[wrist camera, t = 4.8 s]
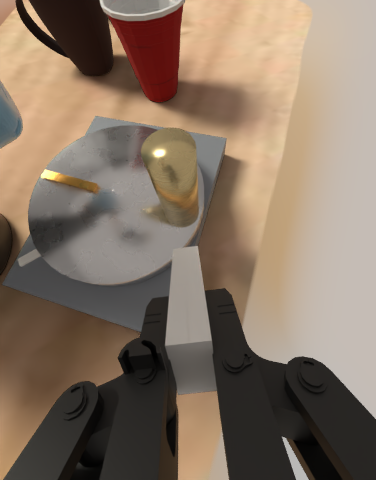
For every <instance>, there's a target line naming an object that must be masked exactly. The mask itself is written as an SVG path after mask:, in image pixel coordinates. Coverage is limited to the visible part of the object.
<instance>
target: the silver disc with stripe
mask: <svg viewBox="0 0 376 480" xmlns="http://www.w3.org/2000/svg"><path fill="white" fill-rule="evenodd" d="M203 212H204V183H203V177H202V174H201V170H200V167H199V165H198V163H197V153H196V143H195V140H194V139H193V137H192V136H191V135H190V134H189V133H188V132H186V131H184V130H182V129H178V128H164V129H160V130H157V129H154V128H150V127H145V126H136V125H124V126H115V127H109V128H105V129H101V130H98V131H95V132H92V133H90V134H88V135H86V136H83V137H81V138H80V139H78V140H76V141H75V142H73V143H71V144H70V145H69V146H67V147H66V148H64V149H63V150H62V151H61V152H60V153H59V154H58V155H56V156H55V157H54V159H53V160H52V161H51V162H50V163H49V164H48V165H47V167H46V168H45V169H44V171H43V172H42V174H41V175H40V177H39V179H38V181H37V183H36V185H35V187H34V189H33V192H32V196H31V199H30V204H29V210H28V223H29V230H30V234H31V237H32V241H33V243H34V245H35V247H36V249H37V251H38V252H39V254H40V255H41V256H42V258H43V259H44V260H45V261H46V262H47V263H48V264H49V265H50V266H51V267H52V268H54V269H55V270H57V271H58V272H59V273H61V274H63V275H65V276H67V277H69V278H72V279H75V280H78V281H81V282H85V283H90V284H94V285H100V286H115V287H118V286H126V285H132V284H136V283H140V282H143V281H145V280H148V279H150V278H153V277H155V276H156V275H158V274H160V273H162V272H164V271H165V270H166V269H168V268H169V267H170V266H172V257H173V249H177V248H185V247H190V245H191V244H192V242H193V240H194V239H195V237H196V235H197V233H198V230H199V228H200V225H201V222H202V218H203Z"/></svg>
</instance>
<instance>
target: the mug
mask: <svg viewBox="0 0 376 480" xmlns="http://www.w3.org/2000/svg"><path fill="white" fill-rule="evenodd" d="M29 1H30V3H31V5H32V6H33V8H34V9H35V11H36V13H37V14H38V16H39V17H40V19H41V20H42V22H43V23H44V25H45V26H46V27H47V29H48V30H49V32H50V33H51V34H52V36H53V37H54V38H55V40H54V39H53V38H51V37H50V36H49V35H47V34H46V33H45V32H44V31H43V30H41V29H40V28H39V27H38V25H37V24H36V23H35V22H34V21H33V20H32V18H31V17H30V16H29V14H28V13H27V11H26V9H25V7H24V4H23V1H22V0H16V7H17V11H18V13H19V16H20V18H21V20H22V21H23V23H24V24H25V26H26V27H27V28H28V29H29V31H30V32H31V33H32V34H33V35H34V36H35V37H36V38H37V39H38V40H40V41H41V42H42V43H43V44H45V45H46V46H47V47H49V48H50V49H52V50H54V51H55V52H57V53H59V54H61V55H63V56H65V57H67V58H70V60H71V61H72V62H73V63H74V64H75V65H76V66H77V68H78V69H79V70H80V71H81V72H82V73H83V74H85V75H90V76H98V75H104V74H107V73H108V72H109V71H110V70H111V68H112V65H113V50H112V41H111V35H110V29H109V23H108V18H107V14H106V13H105V12H104V11H103V9H102V7H101V4H100V0H29Z"/></svg>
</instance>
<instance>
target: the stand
mask: <svg viewBox="0 0 376 480" xmlns="http://www.w3.org/2000/svg"><path fill="white" fill-rule="evenodd" d="M124 125H136V126H145V127H150V128H154V129H157V130H160V129H164V128H163V127H157V126H152V125H146V124H140V123H134V122H128V121H122V120H116V119H111V118H105V117H99V116H95V118H94V120H93V122H92V123H91V125H90V127H89V129H88V131H87V132H86V134H85V136H86V135H88V134H90V133H92V132H95V131H98V130H101V129H105V128H109V127H115V126H124ZM186 132H187V131H186ZM188 133H189V134H190V135H191V136H192V137H193V139H194V140H195V143H196V153H197V163H198V165H199V167H200V170H201V174H202V177H203V183H204V212H203V218H202V222H201V225H200V228H199V230H198V233H197V235H196V237H195V239H194V240H193V242H192V244H191V245H190V247H192V246H198V244H199V240H200V237H201V233H202V230H203V226H204V223H205V219H206V216H207V213H208V209H209V206H210V202H211V199H212V195H213V192H214V188H215V185H216V181H217V178H218V175H219V171H220V168H221V164H222V161H223V157H224V154H225V146H226V139H227V138H222V137H216V136H210V135H204V134H198V133H193V132H188ZM171 269H172V266H170V267H169V268H168V269H166V270H165V271H164V272H162V273H160V274H158V275H156V276H155V277H153V278H150V279H148V280H145V281H143V282H140V283H136V284H132V285H126V286H118V287H115V286H100V285H94V284H90V283H85V282H81V281H78V280H75V279H72V278H69V277H67V276H65V275H63V274H61V273H59V272H58V271H57V270H55V269H54V268H52V267H51V266H50V265H49V264H48V263H47V262H46V261H45V260H44V259H43V258H42V256H41V255H40V254H39V252H38V251H37V249H36V247H35V245H34V243H33V241H32V237H31V234H30V235H29V237H28V239H27V240H26V242H25V244H24V246H23V248H22V249H21V251H20V253H19V255H18V257H17V258H16V260H15V262H14V264H13V266H12V267H11V269H10V271H9V273H8V275H7V276H6V278H5V280H4V282H3V284H2V285H4V286H7V287H10V288H13V289H16V290H19V291H22V292H25V293H28V294H31V295H33V296H36V297H39V298H42V299H45V300H48V301H51V302H54V303H57V304H60V305H63V306H66V307H69V308H71V309H74V310H77V311H80V312H83V313H86V314H89V315H92V316H95V317H98V318H101V319H104V320H107V321H110V322H112V323H115V324H118V325H121V326H124V327H127V328H130V329H133V330H136V331H139V332H141V330H142V325H143V320H144V317H145V311H146V307H147V305H148V304H149V302H150V301H151V299H152V298H157V297H165V296H169V293H170V281H171Z"/></svg>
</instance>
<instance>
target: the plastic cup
mask: <svg viewBox="0 0 376 480" xmlns="http://www.w3.org/2000/svg"><path fill="white" fill-rule="evenodd" d="M184 3H185V0H100V4H101V7H102V9H103V11H104V12H105V13H106V14H107V16H108V17H109V19H110V20H111V23H112V25H113V27H114V28H115V31H116V33H117V35H118V38H120V41H121V43H122V45H123V48H124V50H125V52H126V54H127V57H128V59H129V61H130V63H131V66H132V68H133V70H134V73H135V75H136V77H137V79H138V80H139V82H140V85H141V87H142V89H143V92H144V94H145V95H146V97H147V98H148V99H149V100H151V101H154V102H164V101H167V100H169V99H171V98H172V97H173V96H174V95H175V94H176V91H177V85H178V68H179V52H180V29H181V21H182V12H183V4H184Z"/></svg>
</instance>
